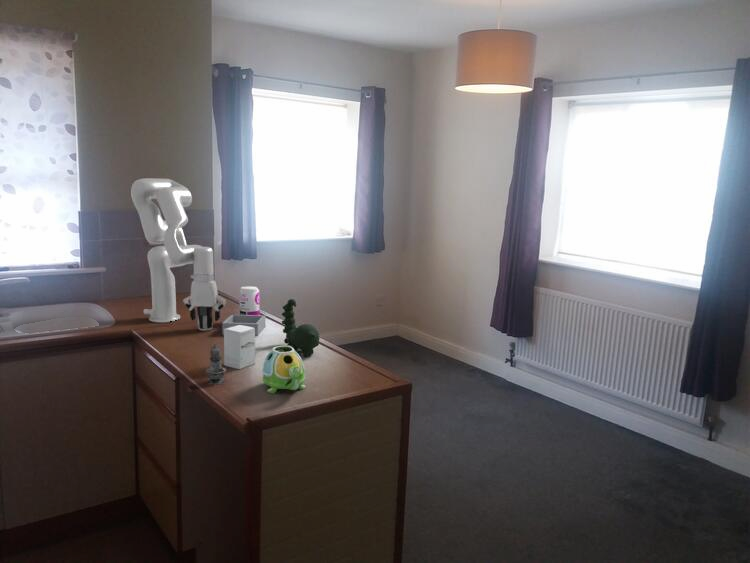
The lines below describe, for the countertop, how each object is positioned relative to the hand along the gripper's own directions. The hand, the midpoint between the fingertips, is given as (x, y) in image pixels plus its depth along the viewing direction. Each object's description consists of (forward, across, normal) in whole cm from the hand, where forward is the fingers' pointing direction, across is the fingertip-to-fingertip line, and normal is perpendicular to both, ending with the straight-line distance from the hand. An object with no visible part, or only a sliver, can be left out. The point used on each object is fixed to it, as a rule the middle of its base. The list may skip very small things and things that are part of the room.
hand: (205, 319), depth 234 cm
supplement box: (+5, +25, -42) cm, 49 cm away
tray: (+4, +16, 0) cm, 16 cm away
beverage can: (+4, 0, 0) cm, 4 cm away
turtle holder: (+5, +44, -62) cm, 76 cm away
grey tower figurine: (+5, +22, -58) cm, 62 cm away
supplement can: (+4, +14, +14) cm, 21 cm away
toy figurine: (+5, +42, -24) cm, 49 cm away
